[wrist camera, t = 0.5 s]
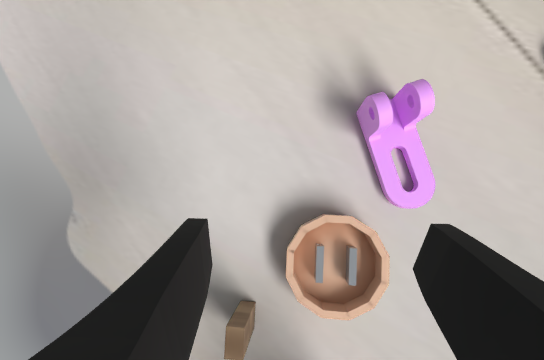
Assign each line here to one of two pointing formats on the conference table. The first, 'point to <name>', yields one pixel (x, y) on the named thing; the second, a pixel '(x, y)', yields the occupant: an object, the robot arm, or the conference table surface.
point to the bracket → (399, 140)
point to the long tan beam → (239, 331)
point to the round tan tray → (337, 266)
